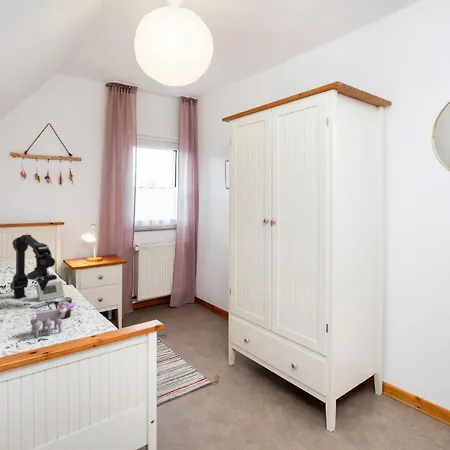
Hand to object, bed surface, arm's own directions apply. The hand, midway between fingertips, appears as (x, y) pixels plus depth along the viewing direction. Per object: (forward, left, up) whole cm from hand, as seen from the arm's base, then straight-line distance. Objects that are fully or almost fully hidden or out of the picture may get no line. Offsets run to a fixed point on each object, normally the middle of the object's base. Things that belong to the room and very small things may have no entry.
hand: (42, 290), depth 205 cm
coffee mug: (+29, -11, -9) cm, 32 cm away
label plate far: (0, +7, -9) cm, 11 cm away
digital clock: (-8, +11, -9) cm, 17 cm away
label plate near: (0, -3, -9) cm, 9 cm away
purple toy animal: (+44, -27, -9) cm, 52 cm away
